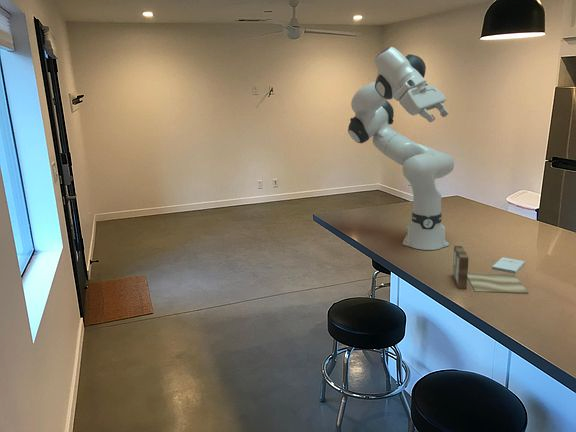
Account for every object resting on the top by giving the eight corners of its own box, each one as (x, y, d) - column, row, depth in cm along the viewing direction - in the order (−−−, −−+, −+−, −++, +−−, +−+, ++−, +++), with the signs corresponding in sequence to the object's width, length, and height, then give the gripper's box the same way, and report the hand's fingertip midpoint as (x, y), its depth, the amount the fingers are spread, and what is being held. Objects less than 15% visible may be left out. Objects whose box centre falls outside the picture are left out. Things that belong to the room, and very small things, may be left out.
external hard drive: (491, 270, 170) (501, 260, 179) (515, 275, 165) (524, 264, 174) (491, 266, 170) (501, 256, 179) (515, 271, 165) (525, 260, 174)
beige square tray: (465, 273, 166) (465, 272, 166) (513, 275, 164) (513, 274, 163) (474, 291, 151) (475, 290, 151) (528, 293, 148) (528, 292, 148)
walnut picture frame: (452, 275, 165) (453, 245, 163) (459, 275, 165) (461, 245, 162) (457, 288, 154) (459, 257, 151) (466, 289, 153) (468, 257, 151)
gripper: (421, 89, 164) (447, 119, 161) (390, 98, 150) (418, 130, 147) (433, 76, 159) (460, 106, 156) (403, 83, 145) (431, 117, 143)
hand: (439, 118), depth 152 cm, fingers open, 8 cm apart
